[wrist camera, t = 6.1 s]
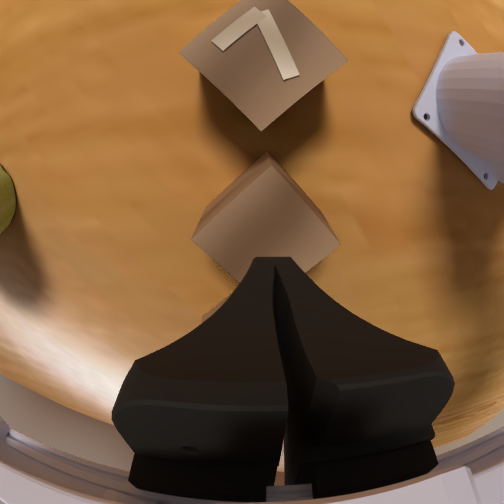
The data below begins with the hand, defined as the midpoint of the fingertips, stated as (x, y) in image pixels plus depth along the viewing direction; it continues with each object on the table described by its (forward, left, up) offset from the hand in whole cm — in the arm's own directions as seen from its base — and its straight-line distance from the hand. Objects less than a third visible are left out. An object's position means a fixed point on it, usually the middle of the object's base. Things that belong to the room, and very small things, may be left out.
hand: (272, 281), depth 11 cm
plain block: (0, 0, -8) cm, 8 cm away
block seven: (+4, -7, -9) cm, 12 cm away
